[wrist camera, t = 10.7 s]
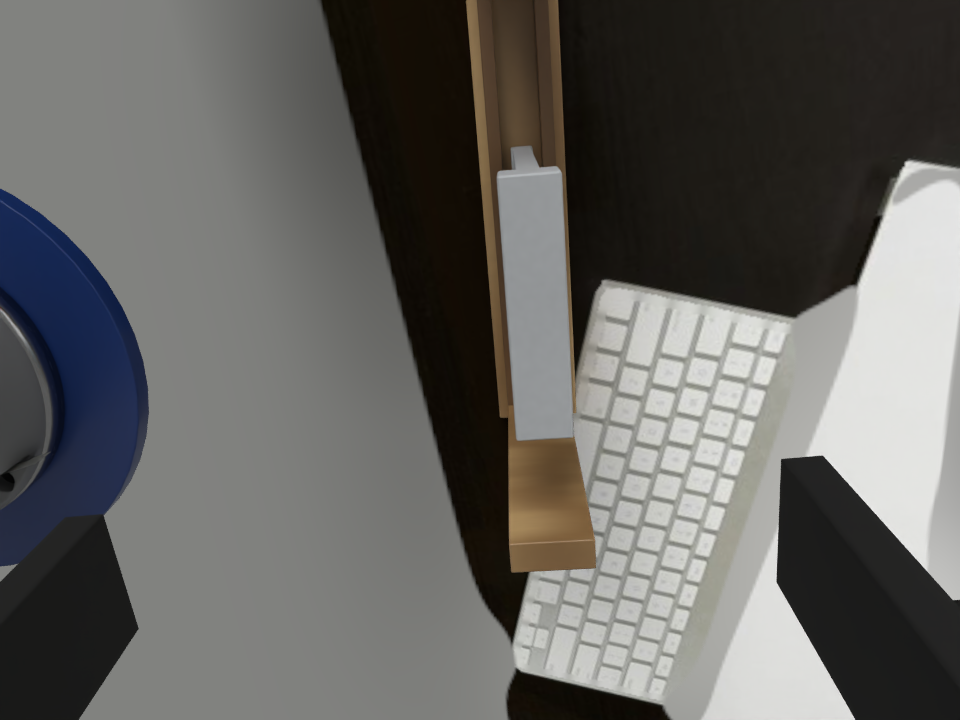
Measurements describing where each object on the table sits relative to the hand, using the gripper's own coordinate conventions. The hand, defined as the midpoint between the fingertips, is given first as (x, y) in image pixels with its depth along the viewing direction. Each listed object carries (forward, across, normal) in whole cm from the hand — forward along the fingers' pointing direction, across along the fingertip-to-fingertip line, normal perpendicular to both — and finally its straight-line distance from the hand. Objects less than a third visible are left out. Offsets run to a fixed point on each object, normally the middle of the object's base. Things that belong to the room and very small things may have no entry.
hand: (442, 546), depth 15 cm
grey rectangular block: (+23, +3, +1) cm, 24 cm away
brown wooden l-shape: (+25, +3, +3) cm, 25 cm away
